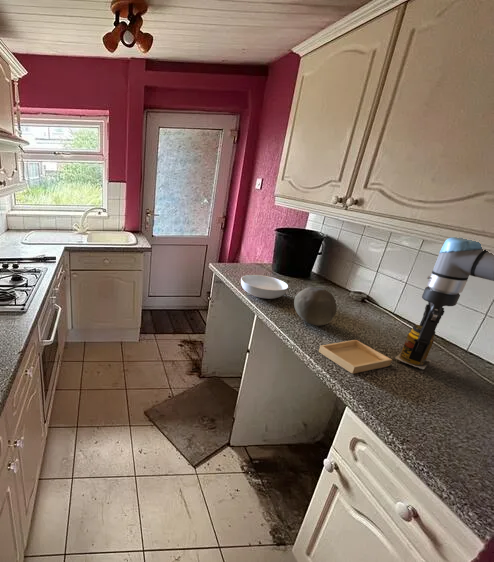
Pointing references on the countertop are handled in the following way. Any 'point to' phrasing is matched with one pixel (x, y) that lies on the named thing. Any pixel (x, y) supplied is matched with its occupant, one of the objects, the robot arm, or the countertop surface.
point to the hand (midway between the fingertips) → (414, 355)
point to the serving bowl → (263, 286)
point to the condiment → (409, 346)
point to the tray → (355, 356)
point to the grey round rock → (315, 305)
